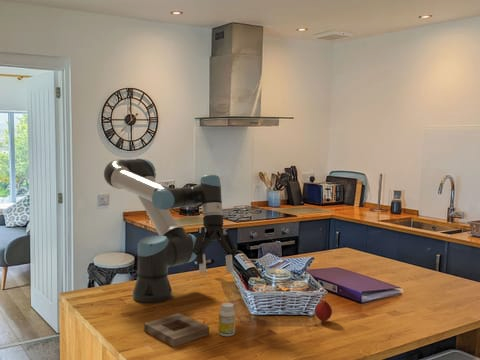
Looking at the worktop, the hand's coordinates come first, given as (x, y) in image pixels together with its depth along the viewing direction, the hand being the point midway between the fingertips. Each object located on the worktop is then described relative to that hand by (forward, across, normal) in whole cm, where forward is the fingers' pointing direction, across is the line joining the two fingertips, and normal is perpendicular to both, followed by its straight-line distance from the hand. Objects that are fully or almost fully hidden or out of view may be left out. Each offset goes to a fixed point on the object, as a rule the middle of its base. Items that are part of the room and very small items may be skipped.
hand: (216, 272), depth 176 cm
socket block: (+19, -21, -1) cm, 28 cm away
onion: (+20, +22, -28) cm, 41 cm away
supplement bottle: (+21, -9, -12) cm, 26 cm away
